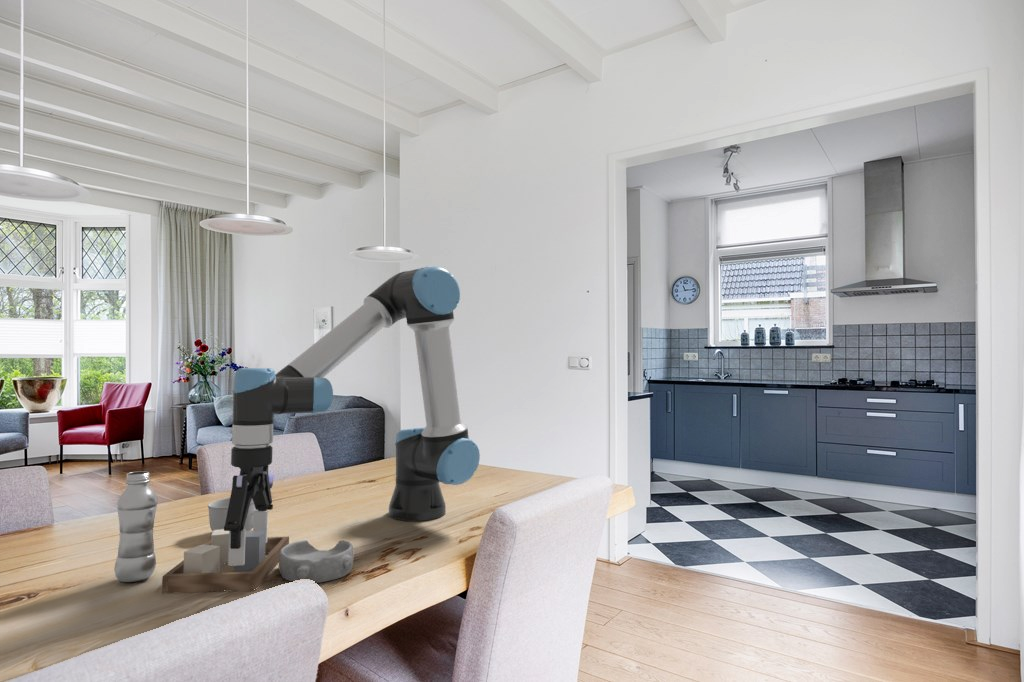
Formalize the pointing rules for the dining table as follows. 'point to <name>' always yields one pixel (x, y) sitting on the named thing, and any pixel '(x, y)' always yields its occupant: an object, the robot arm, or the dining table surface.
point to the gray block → (253, 551)
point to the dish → (315, 561)
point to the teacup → (219, 514)
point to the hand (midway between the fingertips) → (248, 553)
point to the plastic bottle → (136, 529)
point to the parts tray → (224, 574)
